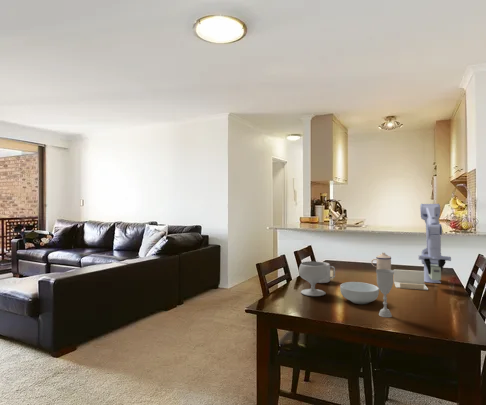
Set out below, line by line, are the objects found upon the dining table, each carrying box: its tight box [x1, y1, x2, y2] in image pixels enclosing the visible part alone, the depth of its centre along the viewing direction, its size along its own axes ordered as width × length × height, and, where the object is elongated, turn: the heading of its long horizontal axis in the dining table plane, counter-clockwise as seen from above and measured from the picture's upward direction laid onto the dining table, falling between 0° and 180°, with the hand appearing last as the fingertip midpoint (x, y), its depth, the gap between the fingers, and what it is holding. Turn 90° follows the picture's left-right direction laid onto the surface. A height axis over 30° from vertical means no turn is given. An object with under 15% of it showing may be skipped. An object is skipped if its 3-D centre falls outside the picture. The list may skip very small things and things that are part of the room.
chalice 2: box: [375, 268, 395, 318], centre depth 137 cm, size 7×7×18 cm
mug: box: [316, 261, 336, 284], centre depth 194 cm, size 14×11×10 cm
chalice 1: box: [298, 260, 327, 297], centre depth 169 cm, size 14×14×15 cm
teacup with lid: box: [371, 252, 392, 270], centre depth 219 cm, size 12×9×12 cm
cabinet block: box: [429, 264, 442, 281], centre depth 174 cm, size 10×4×6 cm, turn 161°
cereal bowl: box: [339, 281, 380, 305], centre depth 156 cm, size 17×17×7 cm
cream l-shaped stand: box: [393, 269, 429, 291], centre depth 181 cm, size 13×15×7 cm
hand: (434, 274), depth 175 cm, fingers closed on cabinet block, 4 cm apart
